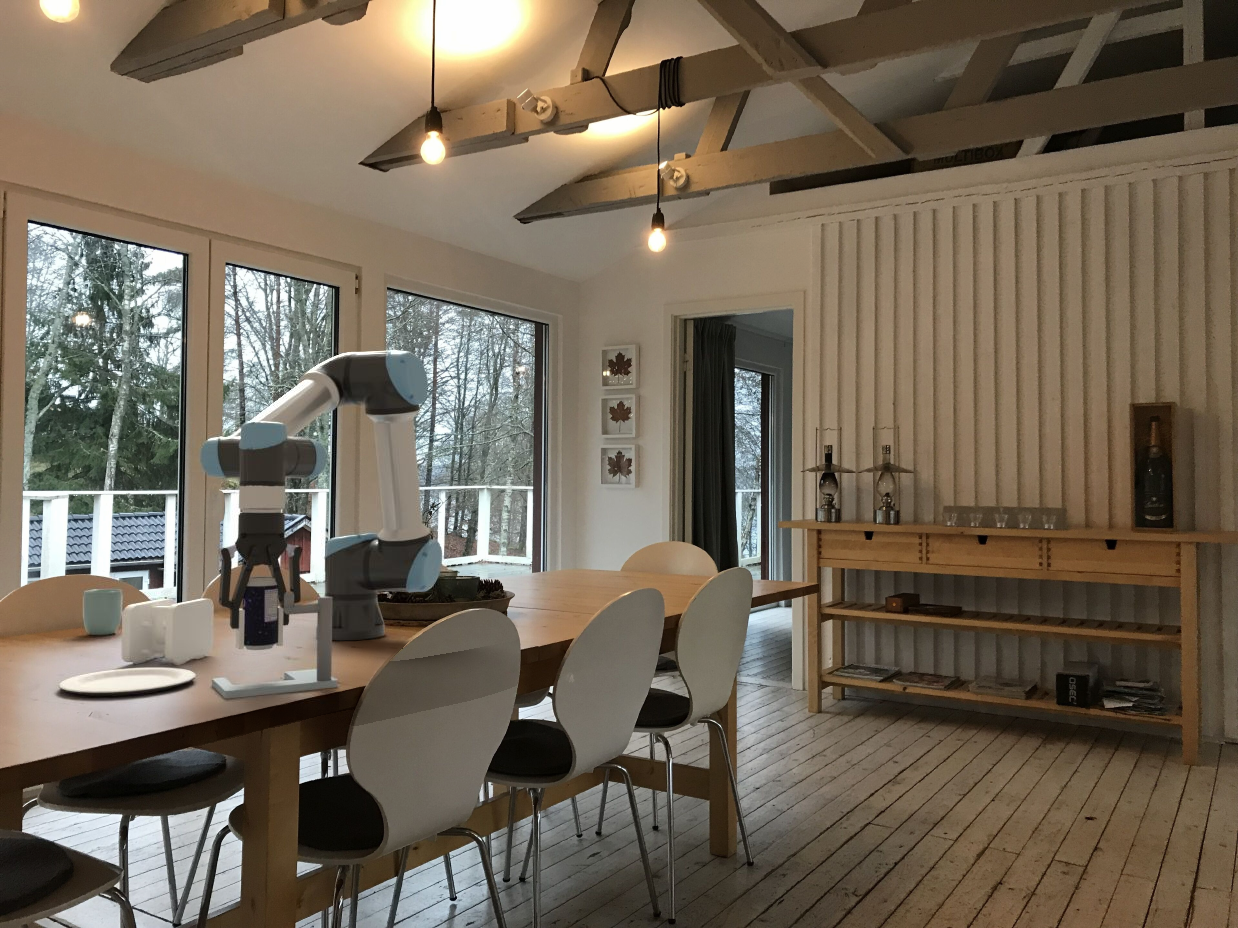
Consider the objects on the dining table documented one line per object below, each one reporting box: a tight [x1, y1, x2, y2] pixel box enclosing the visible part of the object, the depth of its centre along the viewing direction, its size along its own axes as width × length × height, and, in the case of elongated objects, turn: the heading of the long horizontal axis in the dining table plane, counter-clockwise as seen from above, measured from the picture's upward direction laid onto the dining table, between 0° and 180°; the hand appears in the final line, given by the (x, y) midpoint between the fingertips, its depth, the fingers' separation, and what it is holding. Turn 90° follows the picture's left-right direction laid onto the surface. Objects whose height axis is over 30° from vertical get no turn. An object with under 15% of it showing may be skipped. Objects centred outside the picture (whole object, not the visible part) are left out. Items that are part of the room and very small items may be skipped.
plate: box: [58, 667, 197, 697], centre depth 165 cm, size 21×21×2 cm
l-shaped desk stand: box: [211, 590, 339, 700], centre depth 165 cm, size 18×12×17 cm, turn 122°
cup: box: [82, 588, 123, 636], centre depth 222 cm, size 8×8×10 cm
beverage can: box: [242, 576, 279, 651], centre depth 166 cm, size 6×6×12 cm
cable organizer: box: [121, 598, 215, 666], centre depth 189 cm, size 15×11×12 cm
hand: (259, 645), depth 166 cm, fingers closed on beverage can, 6 cm apart
